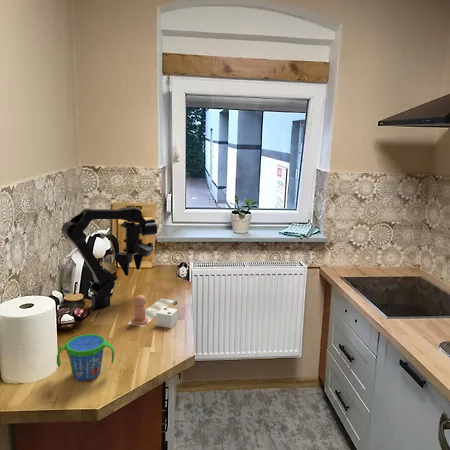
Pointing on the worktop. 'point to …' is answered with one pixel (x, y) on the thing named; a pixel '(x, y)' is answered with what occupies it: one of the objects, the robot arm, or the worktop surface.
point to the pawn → (140, 311)
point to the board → (156, 309)
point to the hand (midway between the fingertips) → (132, 272)
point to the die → (167, 317)
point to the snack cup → (85, 355)
